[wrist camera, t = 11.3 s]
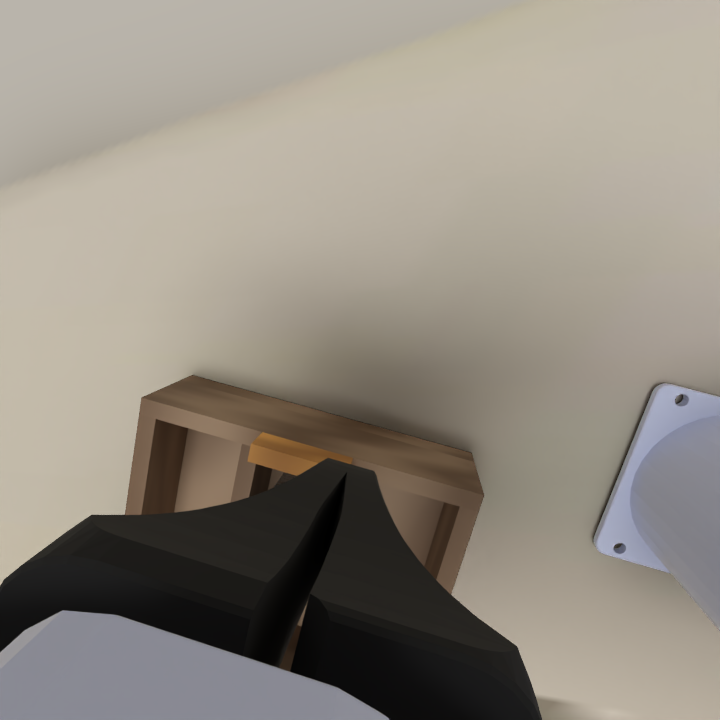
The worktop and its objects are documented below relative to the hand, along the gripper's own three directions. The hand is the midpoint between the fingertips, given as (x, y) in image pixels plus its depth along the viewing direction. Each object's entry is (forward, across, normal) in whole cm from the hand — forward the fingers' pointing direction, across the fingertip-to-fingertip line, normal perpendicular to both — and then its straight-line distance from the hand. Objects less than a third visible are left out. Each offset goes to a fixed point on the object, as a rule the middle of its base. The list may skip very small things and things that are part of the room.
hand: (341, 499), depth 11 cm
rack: (+9, +2, +7) cm, 12 cm away
